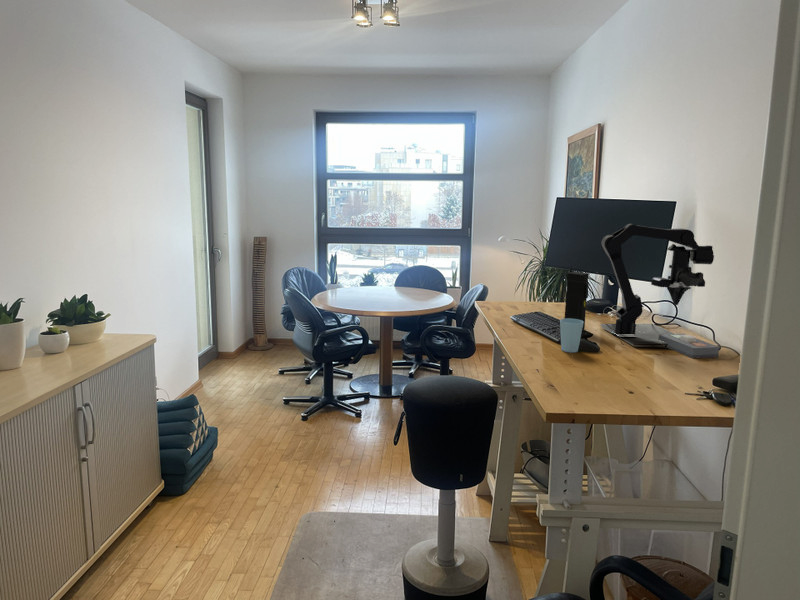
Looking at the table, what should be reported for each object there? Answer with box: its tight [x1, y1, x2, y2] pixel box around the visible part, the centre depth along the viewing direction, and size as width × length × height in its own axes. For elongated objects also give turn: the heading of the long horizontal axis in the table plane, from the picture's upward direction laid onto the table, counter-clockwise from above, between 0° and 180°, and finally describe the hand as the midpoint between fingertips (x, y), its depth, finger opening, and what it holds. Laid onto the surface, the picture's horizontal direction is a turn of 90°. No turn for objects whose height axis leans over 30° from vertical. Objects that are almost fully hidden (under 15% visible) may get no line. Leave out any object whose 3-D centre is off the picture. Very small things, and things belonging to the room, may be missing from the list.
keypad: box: [658, 333, 720, 359], centre depth 201 cm, size 10×18×4 cm, turn 12°
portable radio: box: [563, 265, 590, 331], centre depth 226 cm, size 8×6×25 cm
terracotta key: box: [691, 343, 707, 347], centre depth 196 cm, size 4×4×2 cm
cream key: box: [680, 334, 698, 342], centre depth 201 cm, size 4×4×2 cm
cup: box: [559, 318, 584, 353], centre depth 197 cm, size 8×8×10 cm
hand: (675, 305), depth 215 cm, fingers closed
